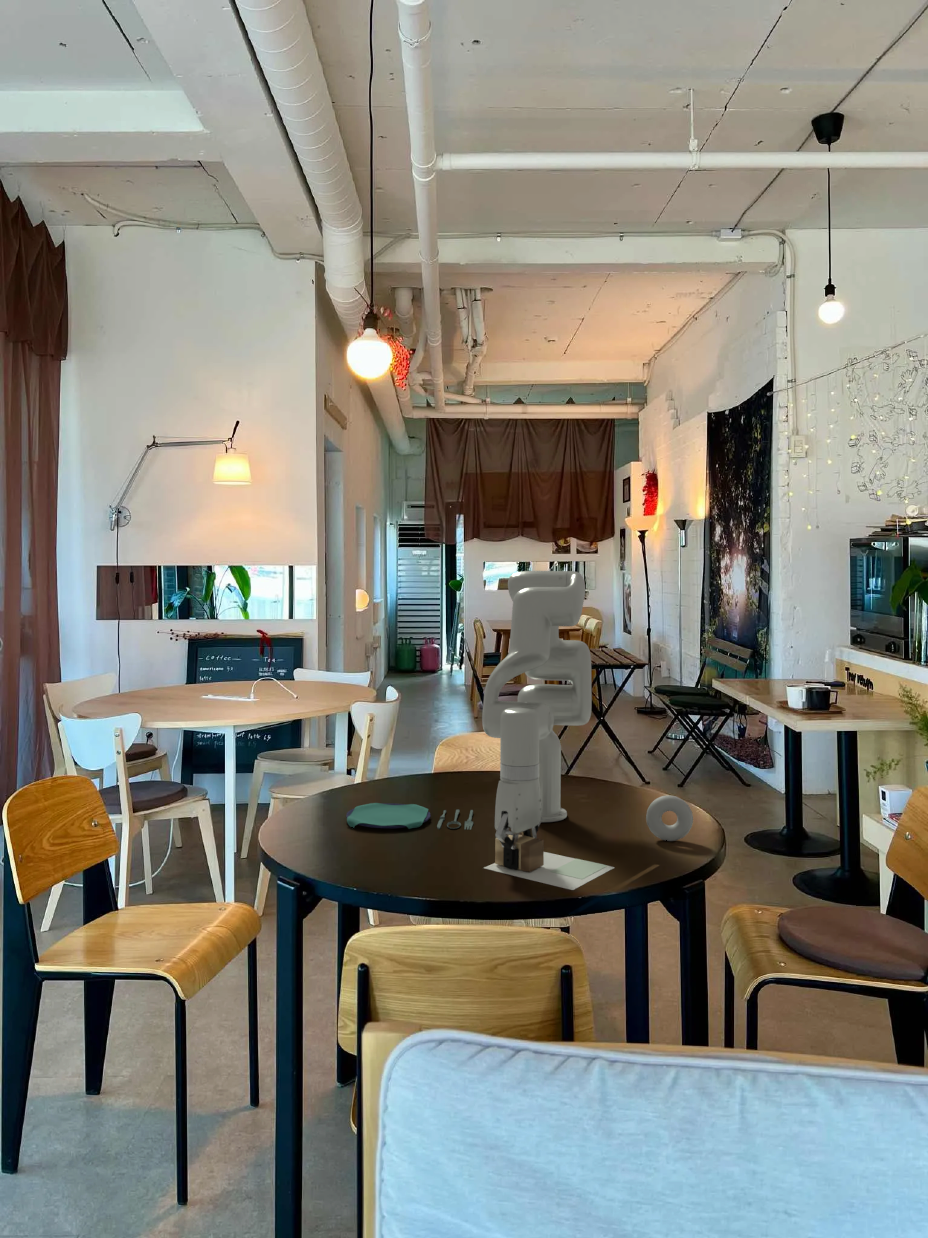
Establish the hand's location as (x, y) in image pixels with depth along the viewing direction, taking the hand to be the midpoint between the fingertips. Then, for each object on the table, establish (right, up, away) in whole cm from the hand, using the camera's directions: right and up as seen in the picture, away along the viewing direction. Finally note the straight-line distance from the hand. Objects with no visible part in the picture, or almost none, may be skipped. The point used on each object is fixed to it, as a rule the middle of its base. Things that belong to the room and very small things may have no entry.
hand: (519, 863), depth 172 cm
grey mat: (+6, -1, -1) cm, 6 cm away
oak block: (0, 0, 0) cm, 0 cm away
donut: (+34, -1, +19) cm, 39 cm away
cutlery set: (-23, 0, +35) cm, 42 cm away
